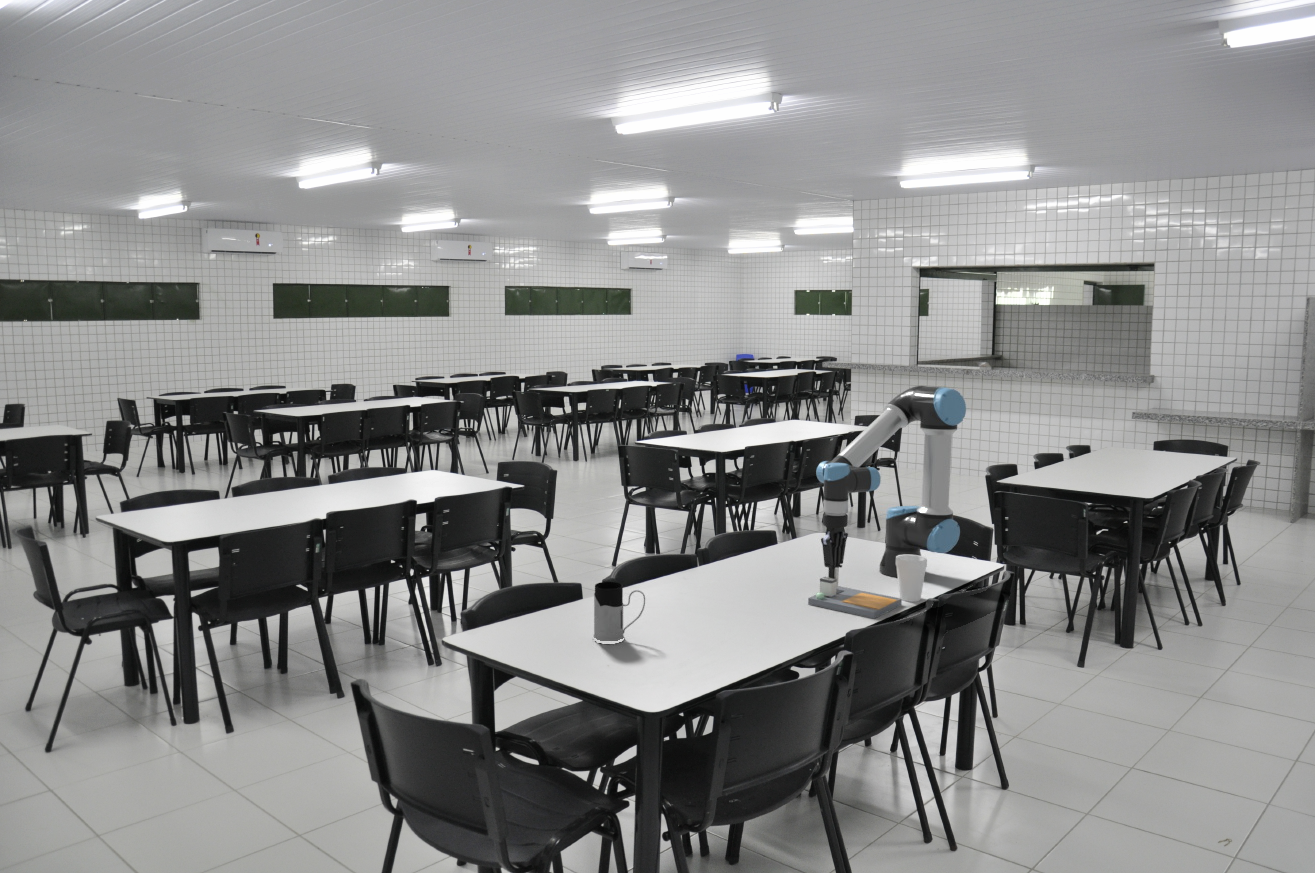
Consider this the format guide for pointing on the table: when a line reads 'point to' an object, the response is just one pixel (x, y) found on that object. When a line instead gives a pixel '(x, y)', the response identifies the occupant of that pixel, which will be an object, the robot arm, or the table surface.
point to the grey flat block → (856, 602)
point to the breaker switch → (828, 586)
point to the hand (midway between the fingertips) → (833, 587)
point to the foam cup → (910, 576)
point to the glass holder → (610, 611)
